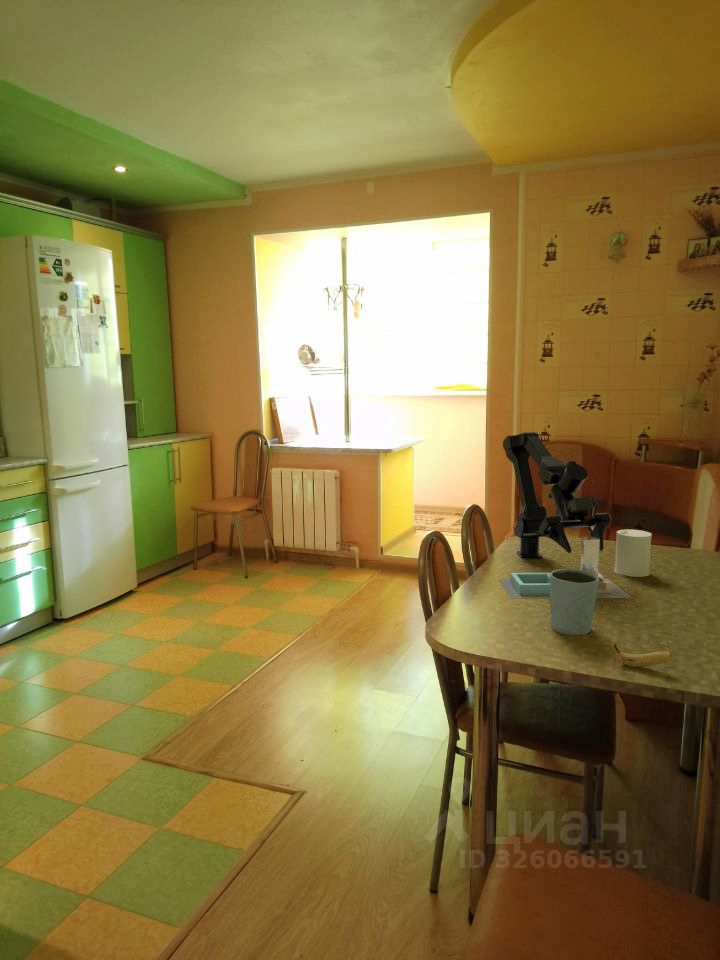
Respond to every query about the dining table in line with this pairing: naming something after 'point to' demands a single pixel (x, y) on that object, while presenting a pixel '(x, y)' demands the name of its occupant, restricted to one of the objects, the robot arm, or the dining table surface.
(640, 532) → the can
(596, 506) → the robot arm
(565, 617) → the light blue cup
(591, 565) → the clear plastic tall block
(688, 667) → the dining table surface
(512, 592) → the mat
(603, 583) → the socket block
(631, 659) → the banana
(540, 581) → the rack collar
